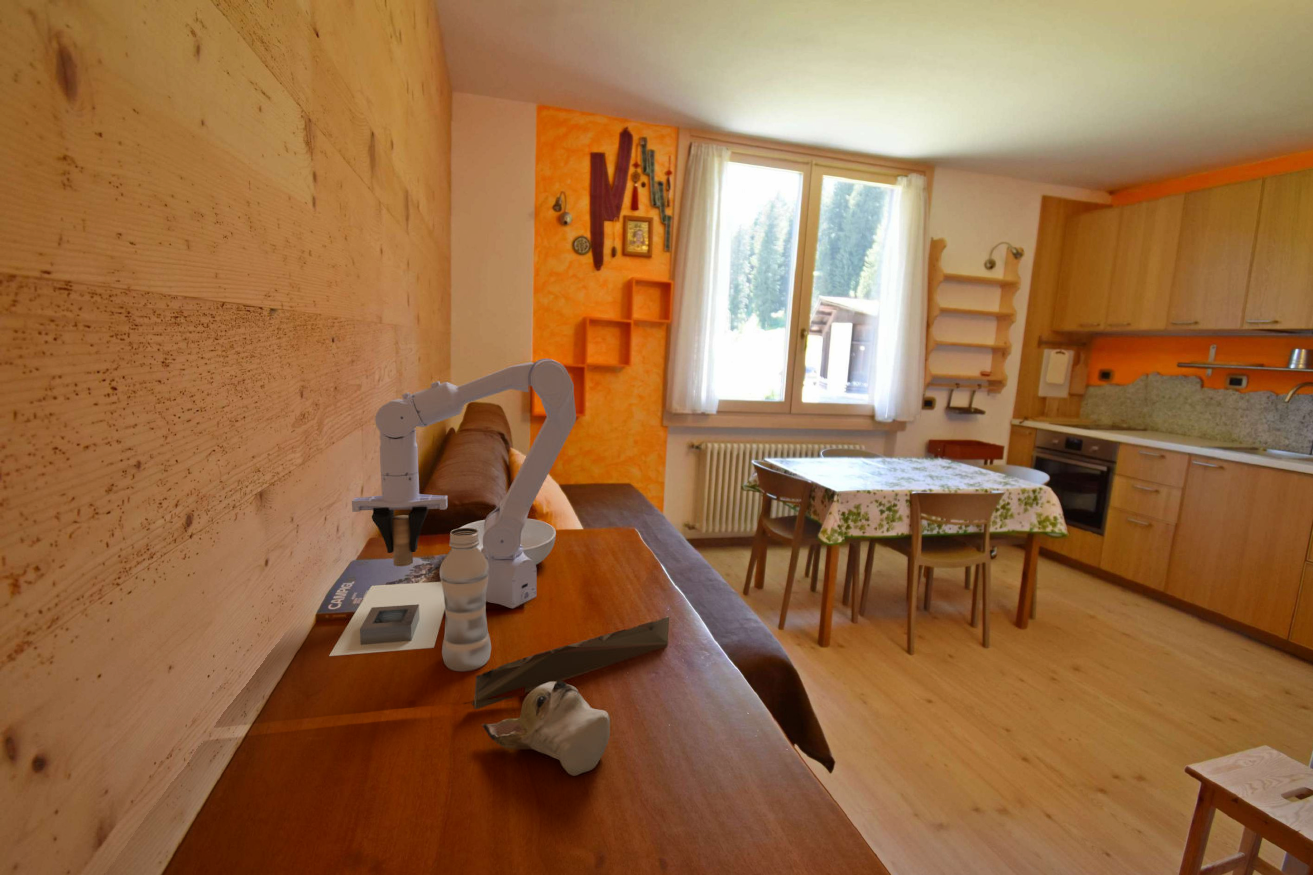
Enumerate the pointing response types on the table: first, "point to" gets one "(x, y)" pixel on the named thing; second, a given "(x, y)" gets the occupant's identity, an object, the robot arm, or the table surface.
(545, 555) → the serving bowl
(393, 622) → the grey square tray
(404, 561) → the oak dowel
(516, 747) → the ceramic sculpture
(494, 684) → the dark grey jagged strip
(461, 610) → the plastic bottle
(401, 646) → the cream board
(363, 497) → the robot arm
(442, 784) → the table surface
